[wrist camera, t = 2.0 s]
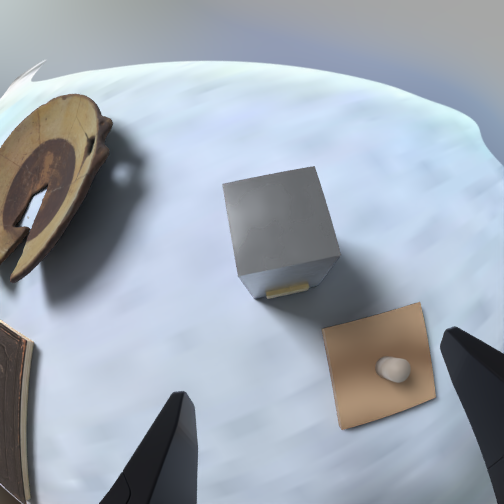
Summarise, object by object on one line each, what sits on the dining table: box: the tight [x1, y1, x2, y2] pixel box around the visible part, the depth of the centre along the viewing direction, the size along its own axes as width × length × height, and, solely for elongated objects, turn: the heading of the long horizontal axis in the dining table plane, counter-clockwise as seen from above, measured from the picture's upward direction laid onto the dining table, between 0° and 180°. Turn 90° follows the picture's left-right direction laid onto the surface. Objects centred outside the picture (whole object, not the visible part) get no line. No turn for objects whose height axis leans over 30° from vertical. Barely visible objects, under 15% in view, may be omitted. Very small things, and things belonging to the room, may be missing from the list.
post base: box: [322, 302, 436, 430], centre depth 18 cm, size 8×8×4 cm
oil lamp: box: [0, 94, 113, 283], centre depth 25 cm, size 22×30×8 cm
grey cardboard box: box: [222, 166, 341, 299], centre depth 19 cm, size 6×5×9 cm
